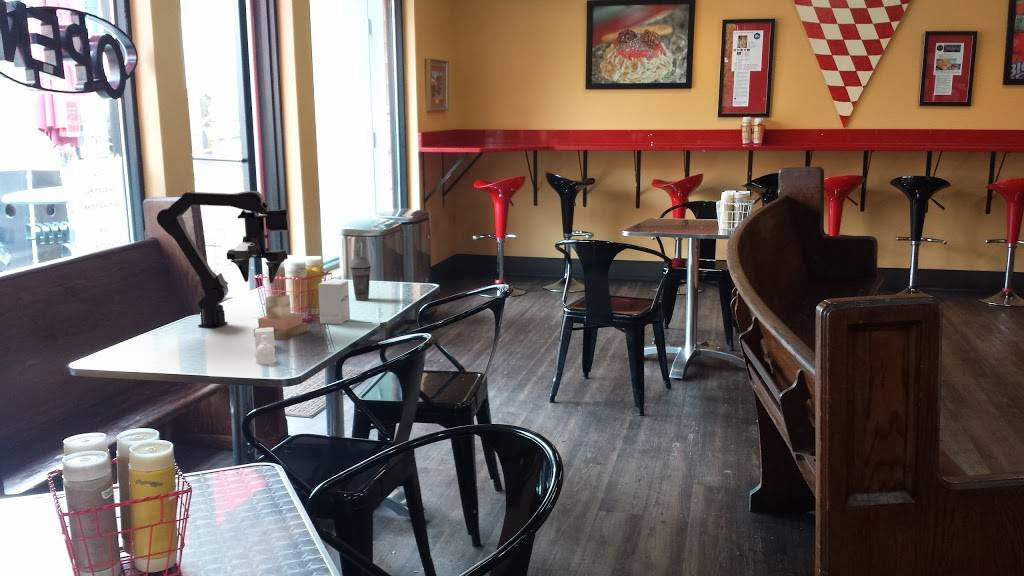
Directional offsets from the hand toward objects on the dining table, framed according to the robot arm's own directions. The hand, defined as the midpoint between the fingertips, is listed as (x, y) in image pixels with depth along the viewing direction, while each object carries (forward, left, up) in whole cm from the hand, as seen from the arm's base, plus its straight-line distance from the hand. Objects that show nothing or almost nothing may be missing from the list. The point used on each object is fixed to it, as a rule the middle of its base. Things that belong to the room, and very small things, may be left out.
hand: (258, 282), depth 276 cm
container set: (+24, -31, -14) cm, 41 cm away
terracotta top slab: (+14, -10, -11) cm, 20 cm away
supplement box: (+21, +9, -13) cm, 26 cm away
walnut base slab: (+14, -10, -14) cm, 22 cm away
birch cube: (+14, -10, -8) cm, 19 cm away
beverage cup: (+12, +41, -13) cm, 45 cm away
